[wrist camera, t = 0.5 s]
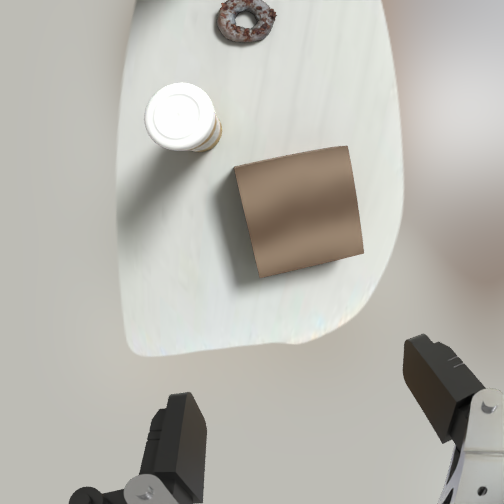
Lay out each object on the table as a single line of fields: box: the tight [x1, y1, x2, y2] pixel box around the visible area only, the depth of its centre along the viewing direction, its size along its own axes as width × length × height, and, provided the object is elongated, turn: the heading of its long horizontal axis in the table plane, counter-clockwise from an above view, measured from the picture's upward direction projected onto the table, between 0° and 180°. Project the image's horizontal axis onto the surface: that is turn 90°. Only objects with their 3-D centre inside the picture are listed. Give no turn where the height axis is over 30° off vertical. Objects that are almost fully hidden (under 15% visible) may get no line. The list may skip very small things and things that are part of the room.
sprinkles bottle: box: [144, 83, 222, 152], centre depth 25 cm, size 5×5×14 cm
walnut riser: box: [234, 146, 364, 278], centre depth 32 cm, size 11×11×4 cm
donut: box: [217, 0, 277, 42], centre depth 27 cm, size 8×8×2 cm
